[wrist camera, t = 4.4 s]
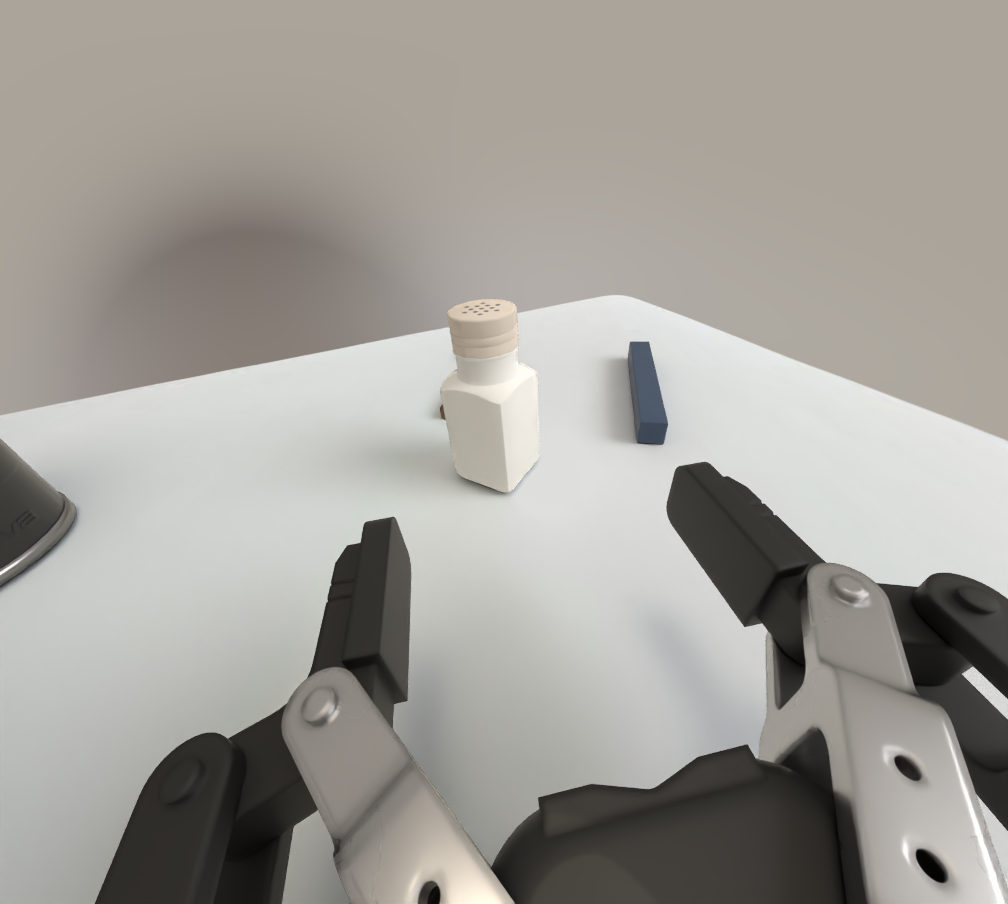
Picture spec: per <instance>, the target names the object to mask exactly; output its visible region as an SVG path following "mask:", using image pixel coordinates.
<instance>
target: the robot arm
mask: <svg viewBox="0 0 1008 904" xmlns="http://www.w3.org/2000/svg"><path fill="white" fill-rule="evenodd" d="M667 514H668V518H669V520H670V523H671V524H672V526H673V527H674V529H675V530H676V532H677V533H678V534H679V536H680V537H681V539H682V540H683V541H684V543H685V544H686V546H687V547H688V548H689V550H690V551H691V553H692V554H693V555H694V557H695V558H696V560H697V561H698V562H699V564H700V565H701V567H702V568H703V569H704V571H705V572H706V574H707V575H708V576H709V578H710V579H711V581H712V582H713V583H714V585H715V586H716V588H717V589H718V590H719V592H720V593H721V595H722V596H723V597H724V599H725V600H726V602H727V603H728V604H729V606H730V607H731V609H732V610H733V611H734V613H735V614H736V616H737V617H738V619H739V620H740V621H741V623H742V624H743V626H744V627H747V626H752V625H756V624H761V623H763V625H764V626H765V627H766V629H767V630H768V633H767V635H766V640H765V642H766V691H767V714H766V720H765V724H764V727H763V730H762V734H761V738H760V746H759V759H756V758H755V757H754V755H753V753H752V751H751V750H750V748H749V746H748V744H747V745H743V746H739V747H735V748H731V749H727V750H723V751H719V752H716V753H712V754H708V755H704V756H700V757H697V758H696V759H695V760H693V761H692V762H690V763H689V764H688V765H686V766H685V767H684V768H682V769H681V770H679V771H678V772H677V773H675V774H674V775H672V776H671V777H670V778H668V779H667V780H666V781H664V782H663V783H661V784H660V785H659V786H657V787H655V788H653V789H639V788H628V787H617V786H607V785H596V784H590V785H586V786H582V787H578V788H574V789H570V790H566V791H562V792H559V793H555V794H551V795H547V796H543V797H539V798H538V801H539V810H537V811H536V812H535V813H533V814H532V815H530V816H529V817H528V818H527V819H526V820H524V821H523V822H522V823H521V824H520V825H519V826H518V827H517V828H516V829H515V831H514V832H513V833H512V834H511V836H510V837H509V838H508V839H507V841H506V842H505V844H504V845H503V847H502V848H501V850H500V852H499V853H498V855H497V857H496V859H495V861H494V863H493V865H492V867H491V866H490V865H489V863H488V862H487V861H486V859H485V858H484V856H483V855H482V854H481V852H480V851H479V849H478V848H477V847H476V845H475V844H474V842H473V841H472V839H471V838H470V837H469V835H468V834H467V832H466V831H465V830H464V828H463V827H462V825H461V824H460V823H459V821H458V820H457V818H456V817H455V816H454V814H453V813H452V811H451V810H450V809H449V807H448V806H447V804H446V803H445V802H444V800H443V799H442V797H441V796H440V795H439V793H438V792H437V790H436V789H435V788H434V786H433V785H432V783H431V782H430V781H429V779H428V778H427V776H426V775H425V773H424V772H423V771H422V769H421V768H420V766H419V765H418V764H417V762H416V761H415V759H414V758H413V757H412V755H411V754H410V752H409V751H408V750H407V748H406V747H405V745H404V744H403V742H402V741H401V740H400V738H399V737H398V735H397V734H396V733H395V731H394V730H393V710H394V704H396V703H401V702H405V701H407V699H408V666H409V632H410V598H411V564H410V558H409V554H408V550H407V548H406V545H405V542H404V540H403V537H402V534H401V531H400V529H399V526H398V523H397V521H396V519H395V517H390V518H385V519H379V520H374V521H368V522H365V524H364V527H363V532H362V538H361V543H358V544H353V545H347V547H346V548H345V550H344V551H343V553H342V554H341V556H340V557H339V559H338V560H337V562H336V563H335V567H334V572H333V576H332V580H331V586H330V589H329V594H328V598H327V599H328V602H327V603H326V607H325V611H324V616H323V620H322V625H321V629H320V633H319V638H318V642H317V647H316V651H315V656H314V660H313V664H312V667H311V671H310V673H309V675H308V677H307V679H306V680H305V681H304V682H303V683H302V684H301V685H300V686H299V687H298V688H297V689H296V690H295V692H294V693H293V694H292V696H291V697H290V699H289V701H288V703H287V704H286V705H284V706H283V707H282V708H281V709H279V710H278V711H276V712H275V713H273V714H271V715H270V716H268V717H266V718H264V719H262V720H261V721H259V722H257V723H255V724H254V725H252V726H250V727H248V728H246V729H245V730H243V731H241V732H239V733H237V734H236V735H234V736H232V737H230V738H228V739H227V738H226V737H224V736H223V735H221V734H218V733H204V734H200V735H198V736H195V737H193V738H191V739H189V740H187V741H185V742H184V743H182V744H181V745H179V746H178V747H177V748H176V749H174V750H173V751H172V752H171V753H170V754H169V755H168V756H167V757H165V758H164V759H163V761H162V762H161V763H160V764H159V765H158V766H157V767H156V769H155V770H154V771H153V773H152V774H151V776H150V777H149V779H148V780H147V782H146V784H145V785H144V787H143V789H142V791H141V793H140V795H139V798H138V800H137V803H136V805H135V807H134V810H133V812H132V815H131V817H130V820H129V822H128V824H127V827H126V829H125V832H124V834H123V837H122V839H121V841H120V844H119V846H118V849H117V851H116V853H115V856H114V858H113V861H112V863H111V866H110V868H109V870H108V873H107V875H106V878H105V880H104V883H103V885H102V887H101V890H100V892H99V895H98V897H97V900H96V902H95V904H282V898H283V891H284V885H285V879H286V872H287V866H288V859H289V853H290V846H291V840H292V833H293V827H294V826H295V825H296V824H298V823H299V822H301V821H302V820H304V819H305V818H307V817H308V816H310V815H311V814H313V813H314V812H316V811H317V810H319V812H320V814H321V816H322V819H323V821H324V823H325V825H326V827H327V829H328V831H329V833H330V835H331V838H332V840H333V843H334V853H333V857H334V862H335V866H336V869H337V872H338V875H339V877H340V880H341V882H342V884H343V886H344V889H345V891H346V893H347V895H348V897H349V899H350V901H351V903H352V904H1008V887H1007V884H1006V881H1005V878H1004V875H1003V872H1002V869H1001V866H1000V863H999V860H998V858H997V855H996V852H995V849H994V846H993V843H992V840H991V837H990V834H989V831H988V828H987V825H986V822H985V819H984V816H983V813H982V810H981V807H980V804H979V801H978V798H977V795H978V796H979V798H980V799H981V800H982V801H983V802H984V803H985V805H986V806H987V807H988V808H989V809H990V811H991V812H992V813H993V814H994V815H995V817H996V818H997V819H998V820H999V821H1000V822H1001V824H1002V825H1003V826H1004V827H1005V828H1006V830H1007V831H1008V719H1007V718H1005V717H1004V716H1003V715H1002V714H1001V713H1000V712H999V711H998V710H997V709H996V708H995V707H994V706H993V705H992V704H991V703H990V702H989V701H988V700H987V699H986V698H985V697H984V696H983V695H982V694H981V693H980V692H979V691H978V690H977V689H976V688H975V687H974V686H973V685H972V684H971V683H970V682H969V681H968V680H967V679H966V678H965V677H964V676H963V675H962V673H964V672H965V671H967V670H968V669H970V668H971V667H973V666H974V667H975V668H976V669H977V670H978V671H979V672H980V673H981V674H982V675H983V676H984V677H985V678H986V679H987V680H988V681H989V682H991V683H992V684H993V685H994V686H995V687H996V688H997V689H998V690H999V691H1000V692H1001V693H1002V694H1003V695H1004V696H1005V697H1006V698H1007V699H1008V599H1007V598H1006V597H1004V596H1003V595H1001V594H1000V593H999V592H997V591H995V590H994V589H992V588H990V587H989V586H987V585H985V584H983V583H981V582H978V581H976V580H974V579H971V578H968V577H965V576H961V575H958V574H952V573H936V574H933V575H931V576H929V577H928V578H927V579H926V580H925V581H924V582H923V583H922V584H921V585H920V586H919V587H912V586H901V585H890V584H879V583H875V582H874V581H873V580H871V579H870V578H869V577H867V576H866V575H864V574H862V573H861V572H859V571H857V570H855V569H852V568H850V567H847V566H844V565H840V564H836V563H826V562H825V561H824V560H823V559H821V558H820V557H819V556H818V555H817V554H816V553H815V552H814V551H813V550H812V549H811V548H810V547H809V546H808V545H807V544H806V543H805V542H804V541H803V540H802V539H801V538H800V537H798V536H797V535H796V534H795V533H794V532H793V531H792V530H791V529H790V528H789V527H788V526H787V525H786V524H785V523H784V522H783V521H782V520H781V519H780V518H779V517H778V516H777V515H774V514H773V512H772V511H771V510H770V509H769V508H768V507H767V506H766V505H765V504H762V503H761V500H760V499H759V498H758V497H757V496H756V495H755V494H754V493H753V492H752V491H751V490H750V489H749V488H747V487H746V486H744V485H743V484H741V483H739V482H737V481H735V480H734V479H732V478H730V477H728V476H726V477H723V476H722V475H721V474H720V473H719V472H718V471H717V470H716V469H715V468H714V467H713V466H712V465H711V464H709V463H707V462H700V463H695V464H689V465H684V466H679V467H677V468H676V470H675V473H674V477H673V481H672V485H671V489H670V493H669V497H668V501H667ZM75 515H76V507H75V505H74V504H73V503H72V502H71V501H70V500H69V499H68V498H67V497H66V496H65V495H64V494H62V493H60V492H58V491H56V490H55V489H54V488H53V487H52V486H51V485H50V484H49V483H47V482H46V481H45V480H44V479H43V478H42V477H41V476H40V475H39V474H38V473H37V472H36V471H34V470H33V469H32V468H31V467H30V466H29V465H28V464H27V463H26V462H25V461H24V460H23V459H21V458H20V457H19V456H18V454H17V453H16V452H14V451H13V450H12V449H11V448H10V447H9V446H8V445H7V444H6V443H5V442H4V441H3V440H1V439H0V585H2V584H4V583H5V582H7V581H8V580H10V579H11V578H13V577H14V576H16V575H17V574H19V573H20V572H22V571H23V570H24V569H26V568H27V567H28V566H30V565H31V564H33V563H34V562H35V561H36V560H38V559H39V558H40V557H41V556H43V555H44V554H45V553H46V552H47V551H48V550H49V549H51V548H52V547H53V546H54V545H55V544H56V543H57V542H58V541H59V540H60V539H61V538H62V536H63V535H64V534H65V533H66V532H67V530H68V529H69V527H70V526H71V524H72V523H73V521H74V518H75ZM976 794H977V795H976Z"/></svg>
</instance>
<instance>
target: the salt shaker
mask: <svg viewBox="0 0 1008 904" xmlns="http://www.w3.org/2000/svg"><path fill="white" fill-rule="evenodd" d="M447 316H448V322H449V327H450V334H451V338H452V339H451V340H452V346H453V353H454V355H455V356H456V361H457V367H458V369H457V370H455V371H454V372H453V373H452V374H451V375H450V376H449V377H448V378H447V379H446V380H445V381H444V382H443V383H442V386H441V389H440V394H441V399H442V404H443V409H444V414H445V419H446V424H447V429H448V434H449V439H450V444H451V449H452V454H453V459H454V464H455V468H456V471H457V472H458V474H459V475H460V476H462V477H463V478H466V479H468V480H471V481H474V482H477V483H479V484H482V485H485V486H487V487H490V488H493V489H495V490H498V491H501V492H510V491H512V490H513V489H514V488H515V487H516V486H517V484H518V483H519V482H520V481H521V480H522V478H523V477H524V476H525V475H526V474H527V472H528V471H529V470H530V469H531V468H532V466H533V465H534V464H535V463H536V462H537V460H538V458H539V414H538V376H537V372H535V371H534V370H533V369H532V368H531V367H529V366H527V365H525V364H522V363H520V362H518V358H517V349H518V346H519V339H518V334H517V333H518V325H517V323H518V321H517V308H516V306H515V305H514V304H513V303H512V302H509V301H504V300H500V299H483V300H476V301H469V302H466V303H462V304H460V305H456V306H454V307H453V308H452V309H450V310H449V311H448V312H447Z"/></svg>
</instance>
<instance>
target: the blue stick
mask: <svg viewBox="0 0 1008 904" xmlns="http://www.w3.org/2000/svg"><path fill="white" fill-rule="evenodd" d="M628 364H629V373H630V382H631V391H632V400H633V409H634V418H635V428H636V437H637V442H638V443H652V444H663V443H664V440H665V435H666V431H667V426H668V422H667V417H666V413H665V409H664V405H663V400H662V396H661V392H660V387H659V383H658V379H657V374H656V370H655V366H654V361H653V357H652V353H651V349H650V344H649V342H630V345H629V353H628Z"/></svg>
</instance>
